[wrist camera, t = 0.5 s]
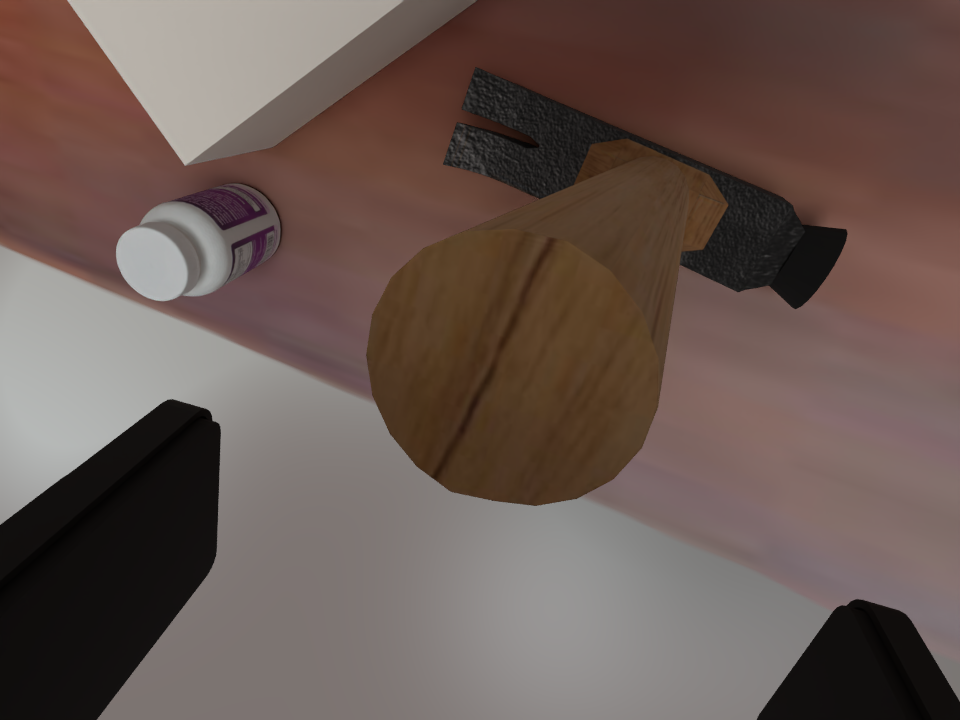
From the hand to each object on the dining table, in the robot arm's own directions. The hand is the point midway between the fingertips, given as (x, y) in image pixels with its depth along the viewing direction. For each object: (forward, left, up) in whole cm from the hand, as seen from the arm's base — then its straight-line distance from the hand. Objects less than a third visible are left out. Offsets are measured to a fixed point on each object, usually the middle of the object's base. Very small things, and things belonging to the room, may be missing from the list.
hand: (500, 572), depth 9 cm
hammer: (-4, +1, -30) cm, 30 cm away
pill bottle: (+19, -9, -30) cm, 36 cm away
